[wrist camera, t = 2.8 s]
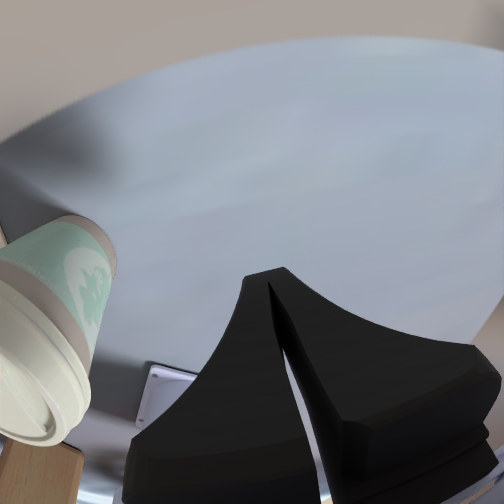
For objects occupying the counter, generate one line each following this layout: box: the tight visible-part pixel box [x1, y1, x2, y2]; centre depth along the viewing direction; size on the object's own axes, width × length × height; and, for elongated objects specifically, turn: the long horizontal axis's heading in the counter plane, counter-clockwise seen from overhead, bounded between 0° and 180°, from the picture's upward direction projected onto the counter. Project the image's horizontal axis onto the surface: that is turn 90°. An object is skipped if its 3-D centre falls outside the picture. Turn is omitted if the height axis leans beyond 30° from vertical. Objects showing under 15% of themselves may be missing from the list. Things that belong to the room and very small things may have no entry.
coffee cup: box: [0, 215, 116, 446], centre depth 13 cm, size 9×8×12 cm
